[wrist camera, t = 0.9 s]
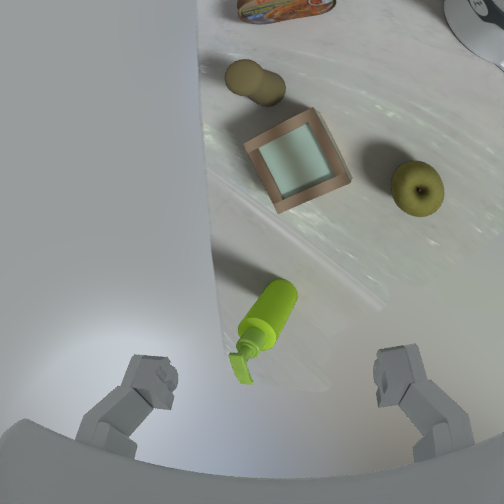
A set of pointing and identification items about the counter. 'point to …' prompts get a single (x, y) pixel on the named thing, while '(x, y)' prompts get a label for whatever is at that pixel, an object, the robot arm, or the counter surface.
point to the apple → (417, 188)
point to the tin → (280, 9)
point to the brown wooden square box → (298, 160)
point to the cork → (255, 82)
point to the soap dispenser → (262, 325)
